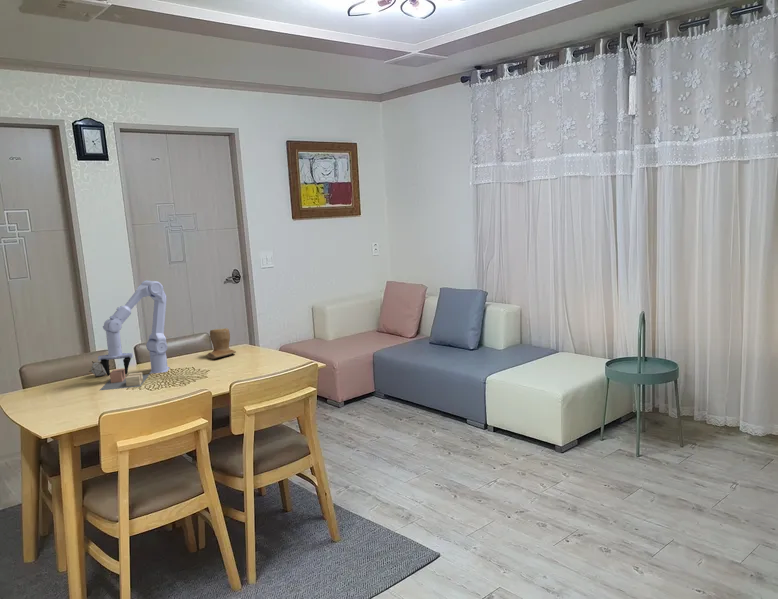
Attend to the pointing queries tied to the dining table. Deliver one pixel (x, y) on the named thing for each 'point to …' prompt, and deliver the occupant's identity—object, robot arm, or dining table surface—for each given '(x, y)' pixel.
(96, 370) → the game die
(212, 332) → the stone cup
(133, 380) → the maple block
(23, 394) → the dining table surface
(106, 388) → the mat
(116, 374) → the terracotta block
